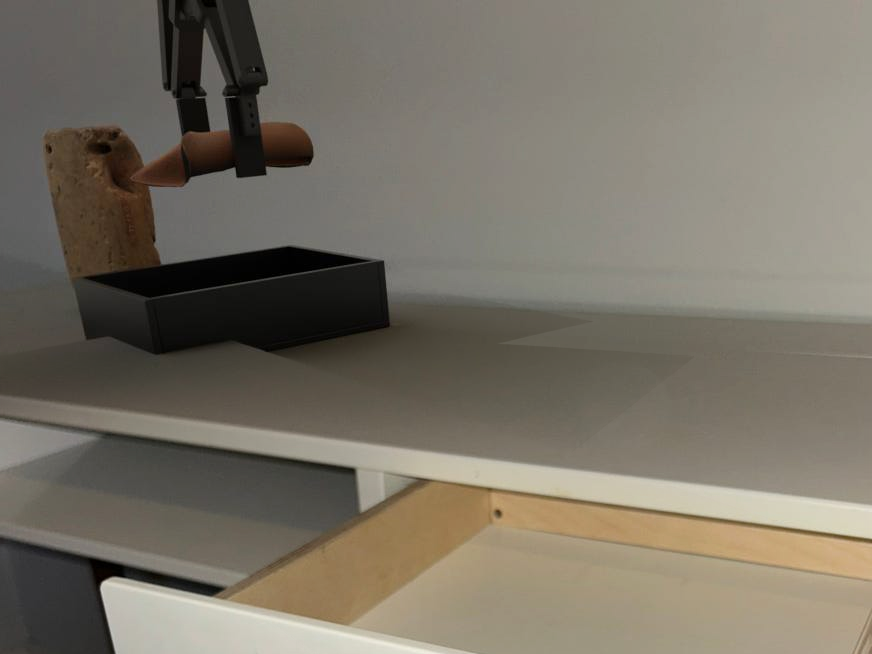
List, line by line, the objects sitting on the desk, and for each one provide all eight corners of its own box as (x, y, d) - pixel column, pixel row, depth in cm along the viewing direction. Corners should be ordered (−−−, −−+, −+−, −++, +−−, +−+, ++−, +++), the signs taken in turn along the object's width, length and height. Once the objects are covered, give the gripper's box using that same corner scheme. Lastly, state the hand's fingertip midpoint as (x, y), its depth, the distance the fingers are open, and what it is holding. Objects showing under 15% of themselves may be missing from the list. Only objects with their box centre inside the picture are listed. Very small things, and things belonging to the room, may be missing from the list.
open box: (158, 373, 99) (144, 300, 96) (86, 342, 113) (71, 277, 110) (390, 326, 112) (384, 260, 109) (299, 303, 126) (291, 244, 123)
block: (70, 314, 128) (28, 129, 118) (118, 302, 133) (81, 124, 124) (134, 319, 123) (95, 126, 113) (181, 306, 128) (147, 122, 119)
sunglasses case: (249, 162, 110) (267, 98, 106) (301, 199, 109) (321, 137, 105) (121, 180, 96) (136, 108, 92) (179, 224, 95) (197, 153, 91)
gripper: (285, -129, 85) (319, 174, 95) (172, -88, 101) (212, 166, 112) (197, -134, 81) (242, 183, 91) (95, -91, 97) (143, 173, 108)
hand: (226, 174), depth 101 cm, fingers closed on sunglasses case, 10 cm apart
